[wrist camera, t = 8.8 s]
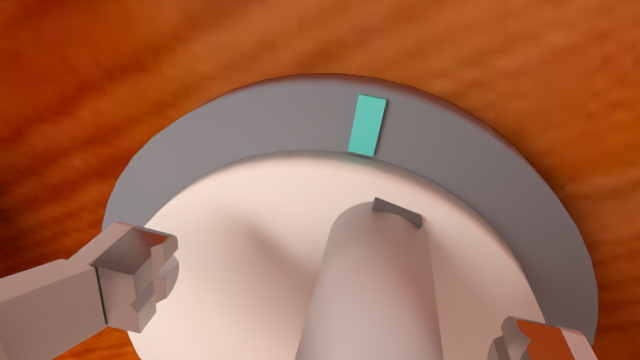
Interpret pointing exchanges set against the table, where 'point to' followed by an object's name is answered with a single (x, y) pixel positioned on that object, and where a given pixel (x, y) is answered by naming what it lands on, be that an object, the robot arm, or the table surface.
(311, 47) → the table surface
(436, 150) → the dial board
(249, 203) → the dial
